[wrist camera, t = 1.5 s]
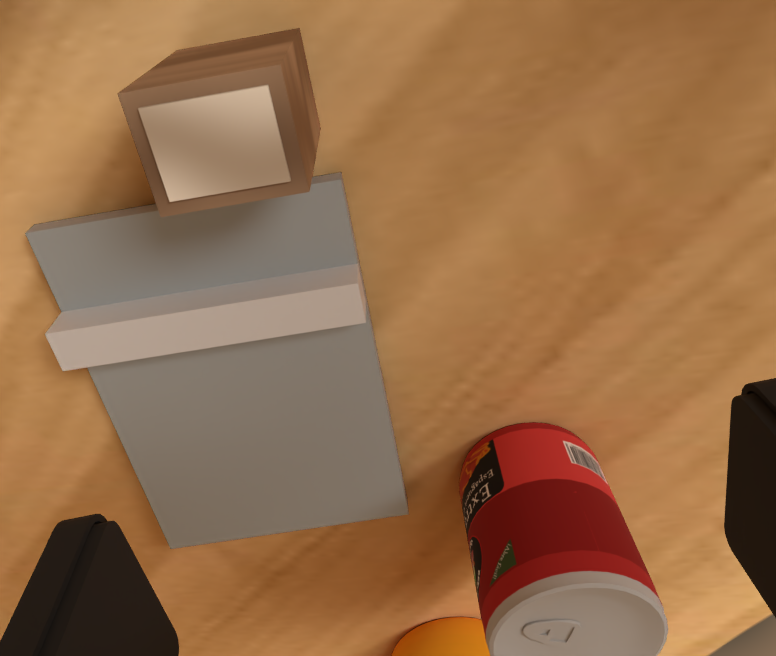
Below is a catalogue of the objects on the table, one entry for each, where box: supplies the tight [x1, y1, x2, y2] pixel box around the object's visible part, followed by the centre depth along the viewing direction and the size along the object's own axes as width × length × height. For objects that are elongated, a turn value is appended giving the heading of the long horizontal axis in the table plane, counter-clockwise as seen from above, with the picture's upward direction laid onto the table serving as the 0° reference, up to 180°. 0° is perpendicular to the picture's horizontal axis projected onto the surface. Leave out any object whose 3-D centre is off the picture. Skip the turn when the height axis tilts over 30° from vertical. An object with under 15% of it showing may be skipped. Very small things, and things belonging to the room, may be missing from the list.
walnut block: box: [118, 28, 321, 217], centre depth 25 cm, size 4×5×8 cm
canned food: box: [459, 422, 668, 656], centre depth 35 cm, size 8×8×11 cm
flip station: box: [25, 172, 409, 549], centre depth 35 cm, size 20×14×3 cm
